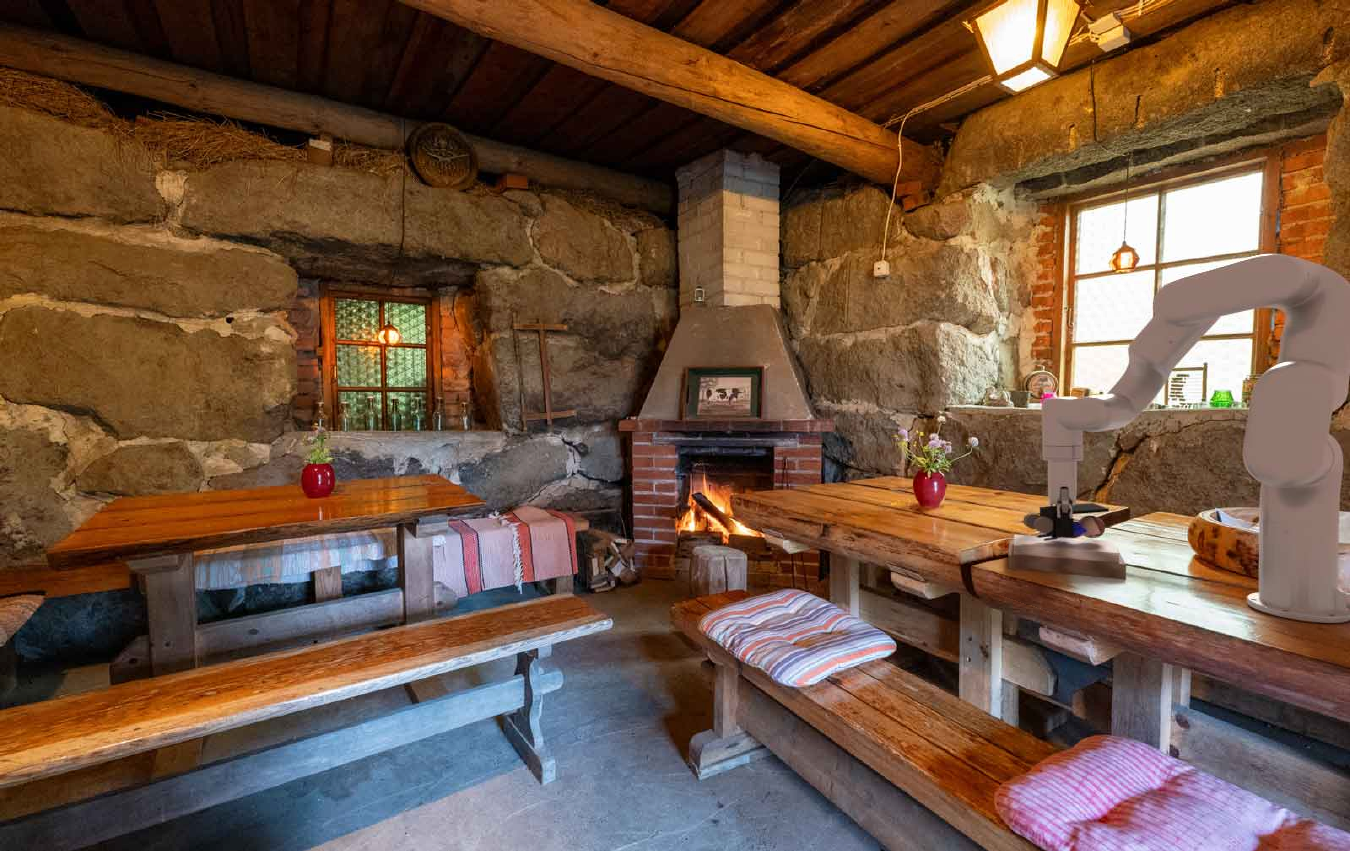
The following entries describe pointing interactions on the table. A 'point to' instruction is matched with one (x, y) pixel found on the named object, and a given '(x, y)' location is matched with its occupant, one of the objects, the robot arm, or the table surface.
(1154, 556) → the table surface
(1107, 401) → the robot arm
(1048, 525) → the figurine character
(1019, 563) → the plinth
